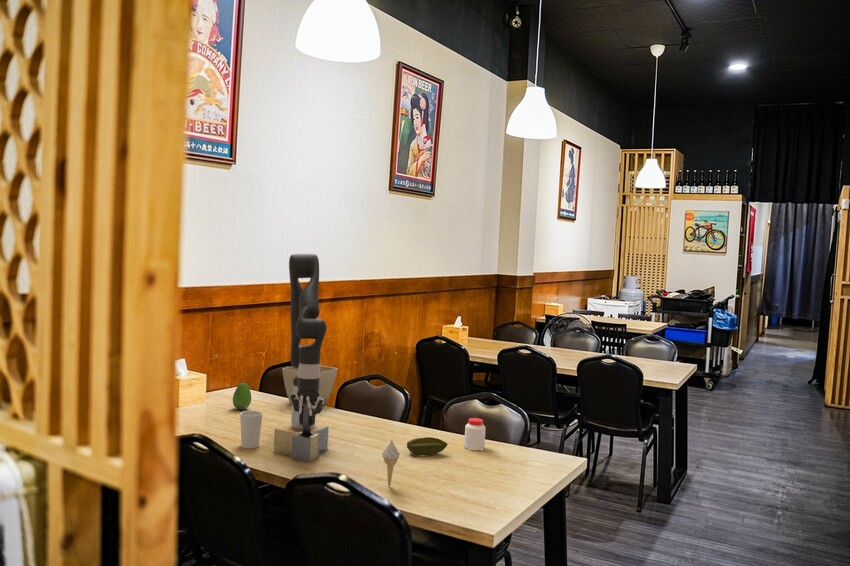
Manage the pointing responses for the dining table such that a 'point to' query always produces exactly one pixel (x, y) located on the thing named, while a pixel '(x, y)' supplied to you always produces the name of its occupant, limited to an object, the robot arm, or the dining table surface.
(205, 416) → the dining table surface
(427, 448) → the fruit
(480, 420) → the pill bottle
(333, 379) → the flower pot
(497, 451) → the dining table surface
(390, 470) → the ice cream cone
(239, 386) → the fruit
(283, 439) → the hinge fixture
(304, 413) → the hinge pin
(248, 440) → the cup
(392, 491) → the dining table surface
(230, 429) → the dining table surface
